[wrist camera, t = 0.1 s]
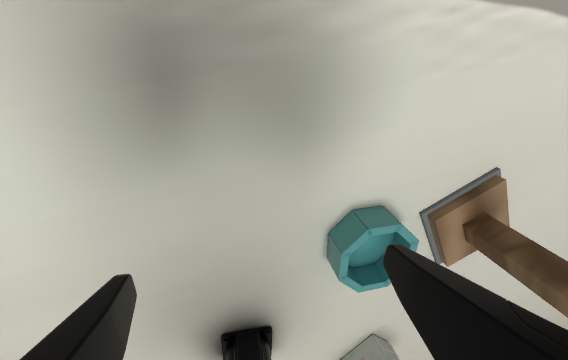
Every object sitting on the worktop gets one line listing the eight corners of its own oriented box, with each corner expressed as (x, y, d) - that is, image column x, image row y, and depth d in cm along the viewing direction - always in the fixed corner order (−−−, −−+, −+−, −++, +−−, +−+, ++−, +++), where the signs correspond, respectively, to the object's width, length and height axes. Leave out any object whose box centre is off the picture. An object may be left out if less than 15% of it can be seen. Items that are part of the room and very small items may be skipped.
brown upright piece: (440, 260, 34) (537, 350, 24) (427, 215, 30) (538, 301, 19) (500, 226, 34) (626, 302, 23) (496, 175, 29) (648, 241, 19)
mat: (435, 262, 35) (437, 265, 35) (419, 212, 30) (421, 214, 30) (502, 224, 34) (505, 226, 34) (496, 167, 29) (500, 168, 29)
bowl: (357, 277, 33) (371, 300, 30) (312, 248, 29) (323, 270, 26) (409, 231, 31) (429, 250, 28) (369, 193, 27) (388, 211, 24)
